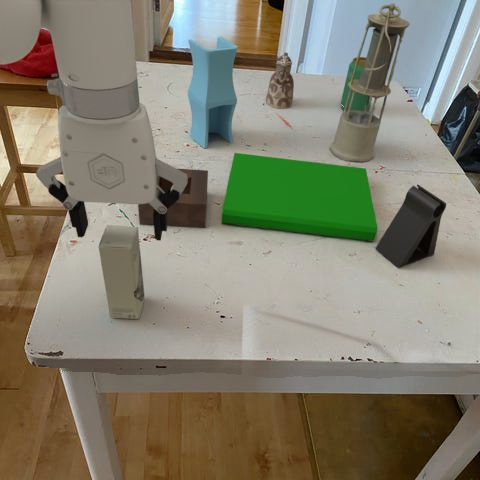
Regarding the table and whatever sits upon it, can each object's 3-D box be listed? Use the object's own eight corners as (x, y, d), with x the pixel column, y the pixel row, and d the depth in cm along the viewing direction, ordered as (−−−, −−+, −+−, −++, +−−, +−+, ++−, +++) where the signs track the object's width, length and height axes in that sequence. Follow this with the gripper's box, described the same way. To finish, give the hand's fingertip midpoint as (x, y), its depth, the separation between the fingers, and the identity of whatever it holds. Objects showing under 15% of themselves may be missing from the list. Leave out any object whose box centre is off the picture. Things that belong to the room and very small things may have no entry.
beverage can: (366, 117, 127) (379, 69, 118) (337, 111, 128) (348, 63, 119) (370, 106, 132) (383, 60, 123) (342, 100, 133) (352, 54, 125)
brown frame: (139, 224, 85) (137, 200, 81) (147, 189, 93) (145, 166, 89) (205, 228, 86) (206, 204, 82) (207, 193, 94) (208, 170, 90)
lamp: (375, 147, 114) (419, 2, 93) (369, 171, 106) (416, 17, 84) (333, 138, 116) (367, -7, 95) (324, 161, 107) (358, 7, 86)
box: (139, 320, 68) (132, 249, 59) (109, 318, 68) (97, 247, 59) (145, 295, 72) (139, 225, 63) (116, 293, 72) (106, 222, 63)
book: (233, 165, 102) (234, 152, 100) (362, 181, 102) (365, 168, 100) (221, 224, 87) (222, 210, 85) (373, 243, 87) (377, 229, 84)
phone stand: (410, 237, 89) (434, 179, 80) (433, 255, 85) (461, 197, 77) (374, 249, 85) (395, 190, 77) (397, 268, 82) (422, 209, 73)
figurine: (262, 105, 127) (268, 56, 118) (269, 96, 131) (275, 48, 123) (288, 110, 125) (296, 61, 117) (294, 101, 130) (301, 53, 122)
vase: (216, 128, 114) (220, 36, 100) (233, 142, 110) (240, 47, 96) (187, 134, 111) (187, 39, 97) (204, 148, 107) (207, 51, 92)
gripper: (3, 105, 45) (45, 248, 58) (184, 115, 46) (187, 253, 59) (26, 76, 50) (60, 213, 63) (188, 86, 51) (190, 218, 64)
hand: (121, 232), depth 61 cm, fingers open, 9 cm apart
